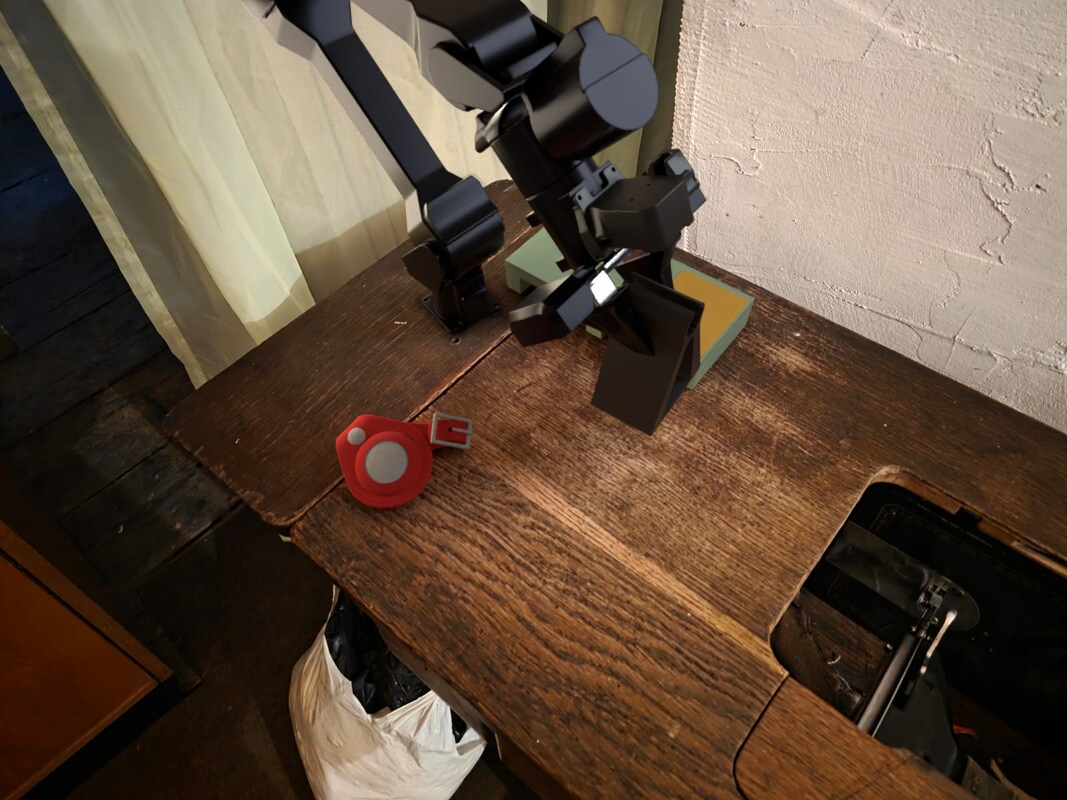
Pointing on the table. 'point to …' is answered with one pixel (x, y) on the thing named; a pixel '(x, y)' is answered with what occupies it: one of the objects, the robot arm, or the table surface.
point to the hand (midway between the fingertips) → (665, 346)
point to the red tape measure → (395, 456)
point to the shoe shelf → (539, 268)
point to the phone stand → (644, 381)
